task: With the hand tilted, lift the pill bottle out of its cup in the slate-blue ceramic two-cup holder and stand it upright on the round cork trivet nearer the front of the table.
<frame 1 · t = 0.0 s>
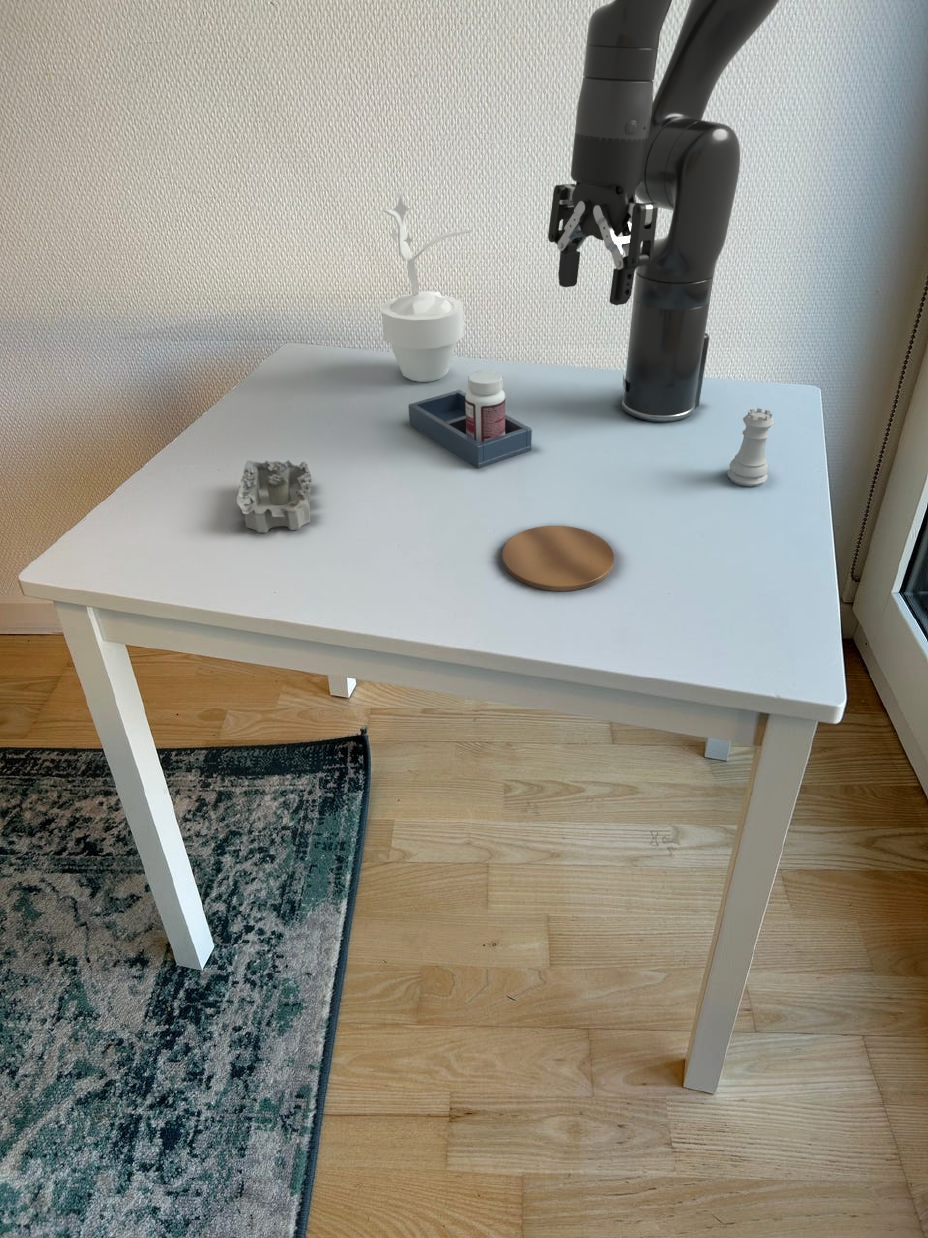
hand: (592, 294, 97), 17 cm above the table, tool pointing down, fingers open, 8 cm apart
trivet: (557, 559, 85), on the table
rook chess piece: (746, 480, 98), on the table
egg carton: (278, 509, 95), on the table
holder: (468, 437, 108), on the table
pill bottle: (485, 444, 105), resting on holder
potted plant: (428, 376, 125), on the table
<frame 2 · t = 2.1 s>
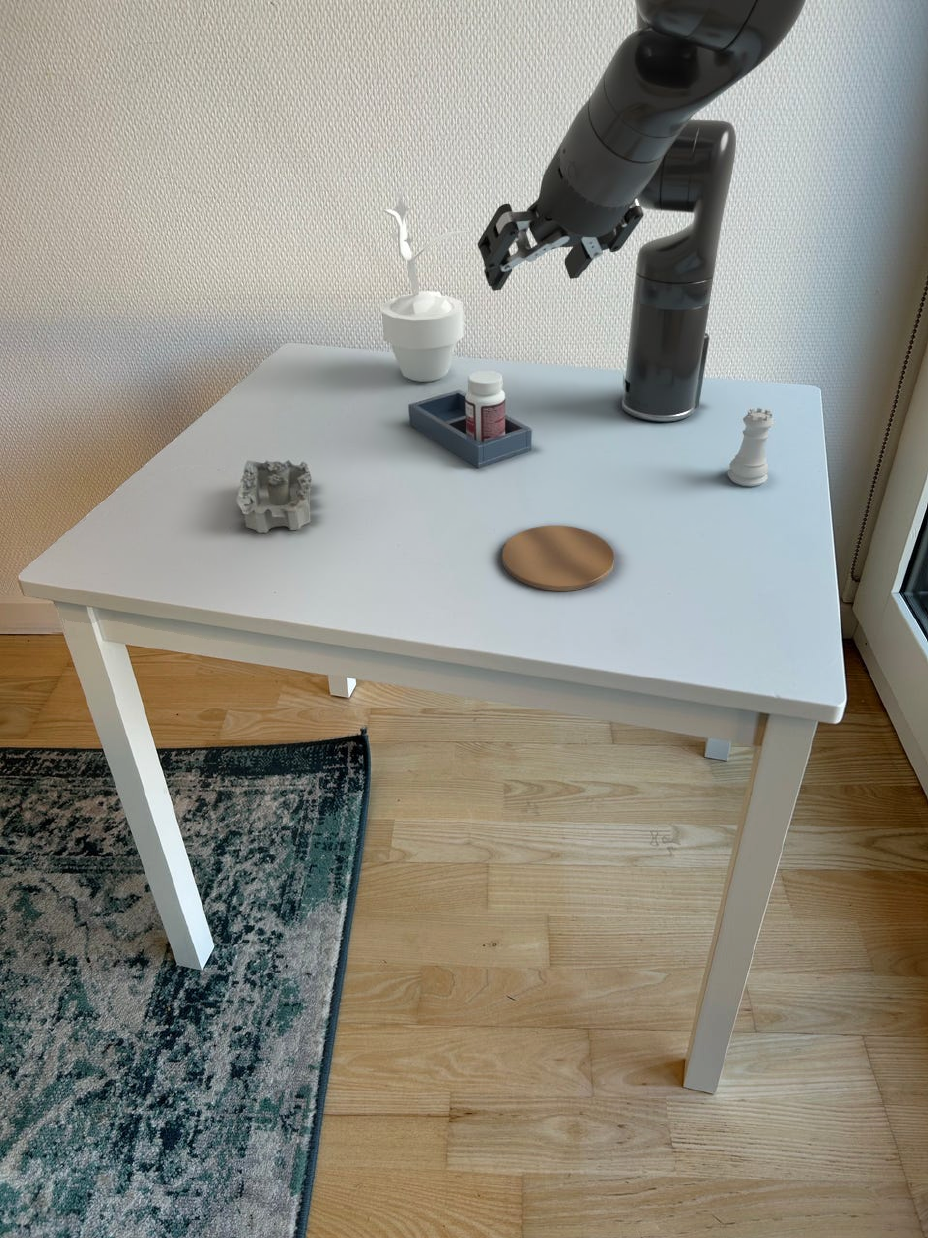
hand: (531, 275, 84), 23 cm above the table, tool tilted 45°, fingers open, 8 cm apart
nothing on the table moved.
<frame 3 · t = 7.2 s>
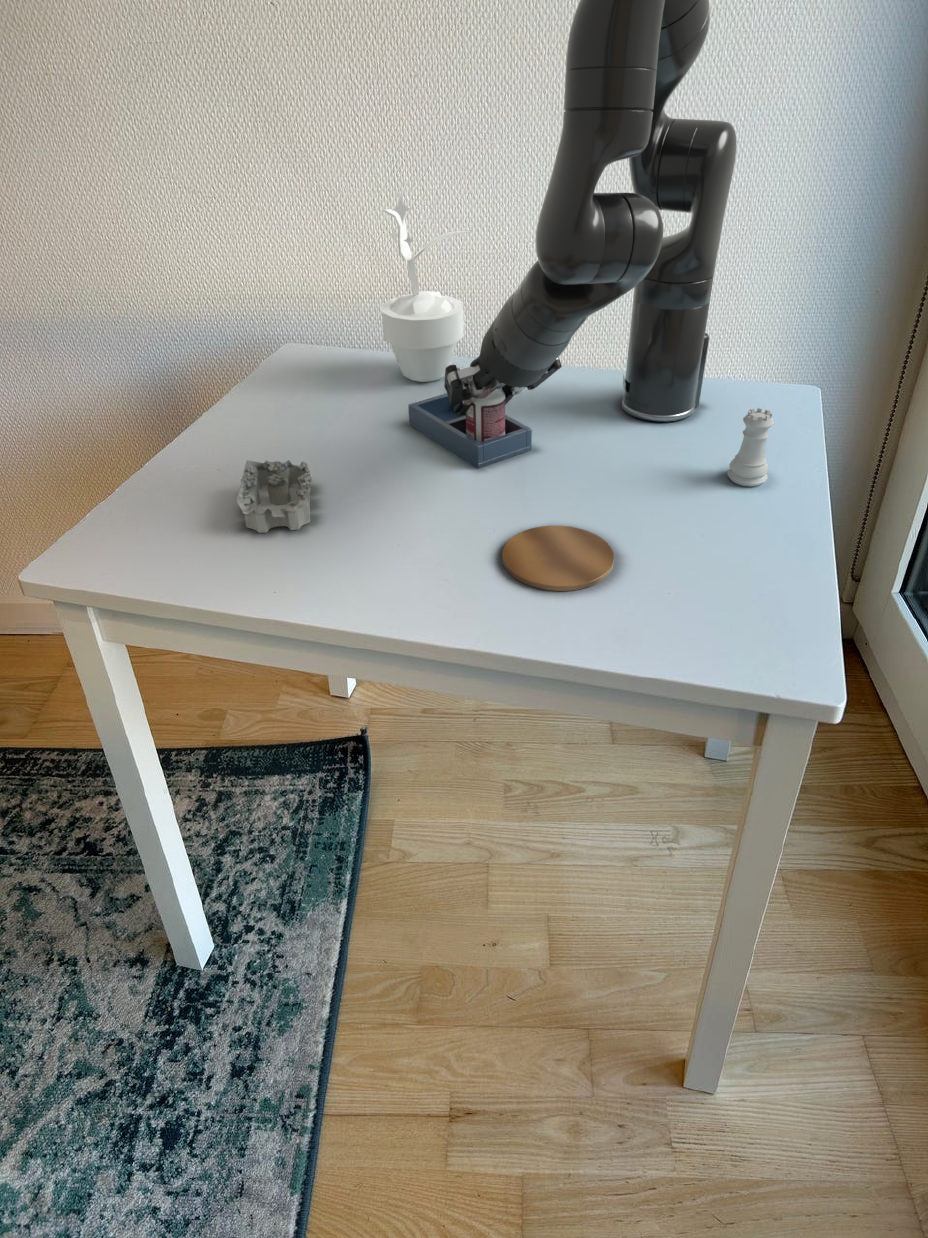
hand: (478, 403, 104), 5 cm above the table, tool tilted 45°, fingers closed on pill bottle, 4 cm apart
pill bottle: (485, 444, 105), resting on holder, touching gripper
everything else where it was.
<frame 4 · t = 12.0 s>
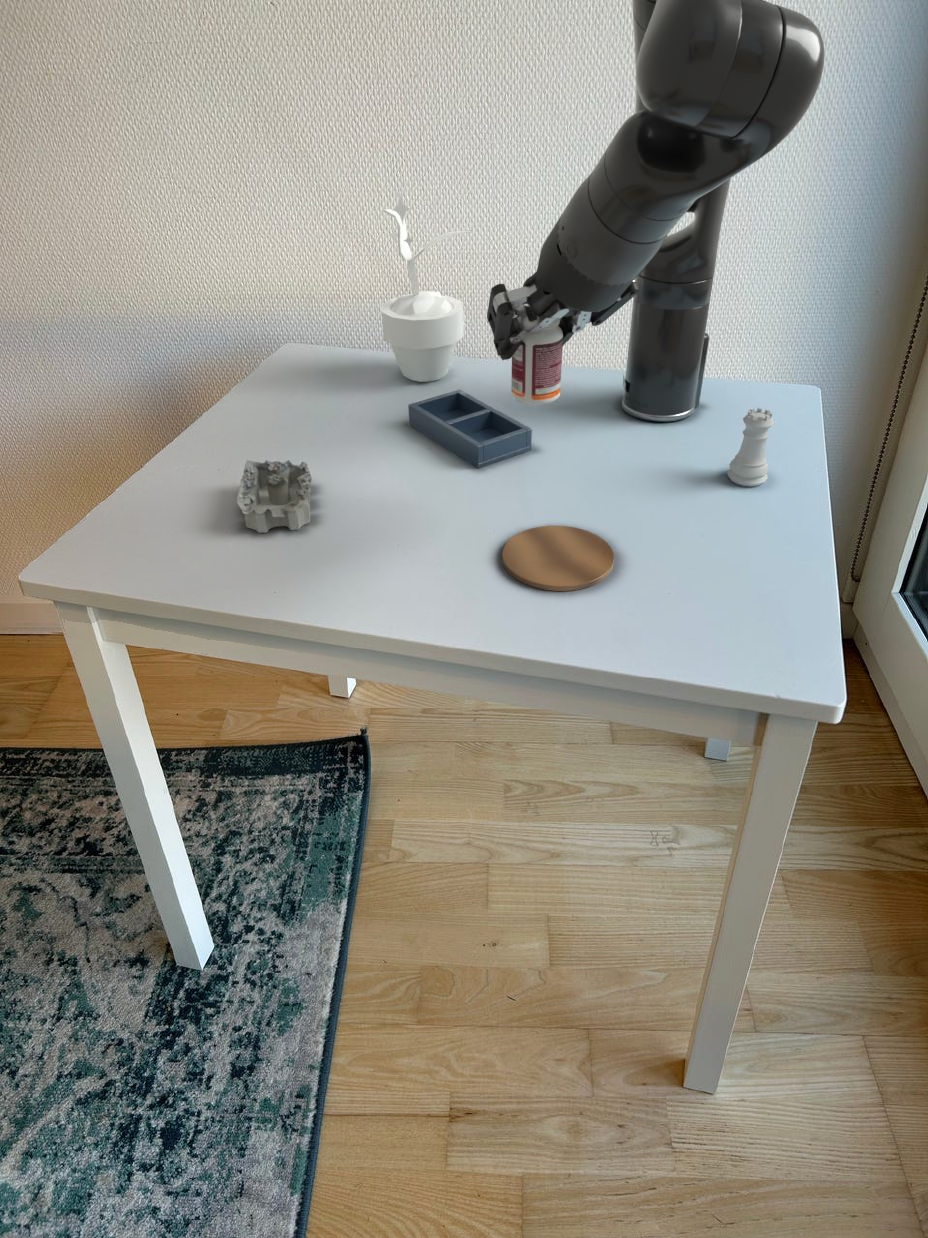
hand: (527, 345, 82), 18 cm above the table, tool tilted 45°, fingers closed on pill bottle, 4 cm apart
pill bottle: (535, 397, 83), point 14 cm above the table, touching gripper
everything else where it was.
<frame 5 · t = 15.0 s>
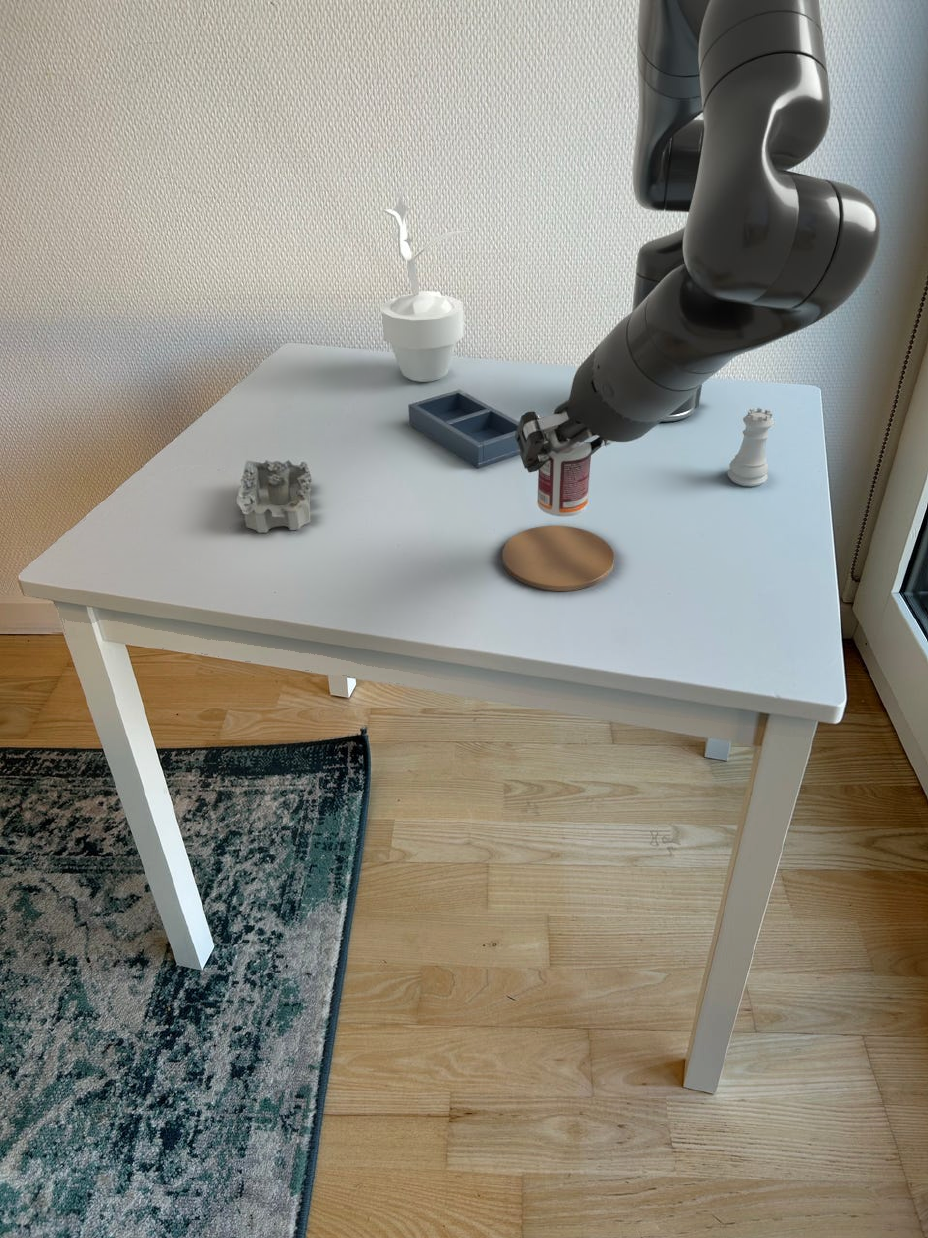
hand: (553, 455, 80), 11 cm above the table, tool tilted 45°, fingers closed on pill bottle, 4 cm apart
pill bottle: (561, 507, 82), point 6 cm above the table, touching gripper
everything else where it was.
when the fingers open (5 cm above the table, at t = 17.0 s): pill bottle stays where it is, resting on trivet.
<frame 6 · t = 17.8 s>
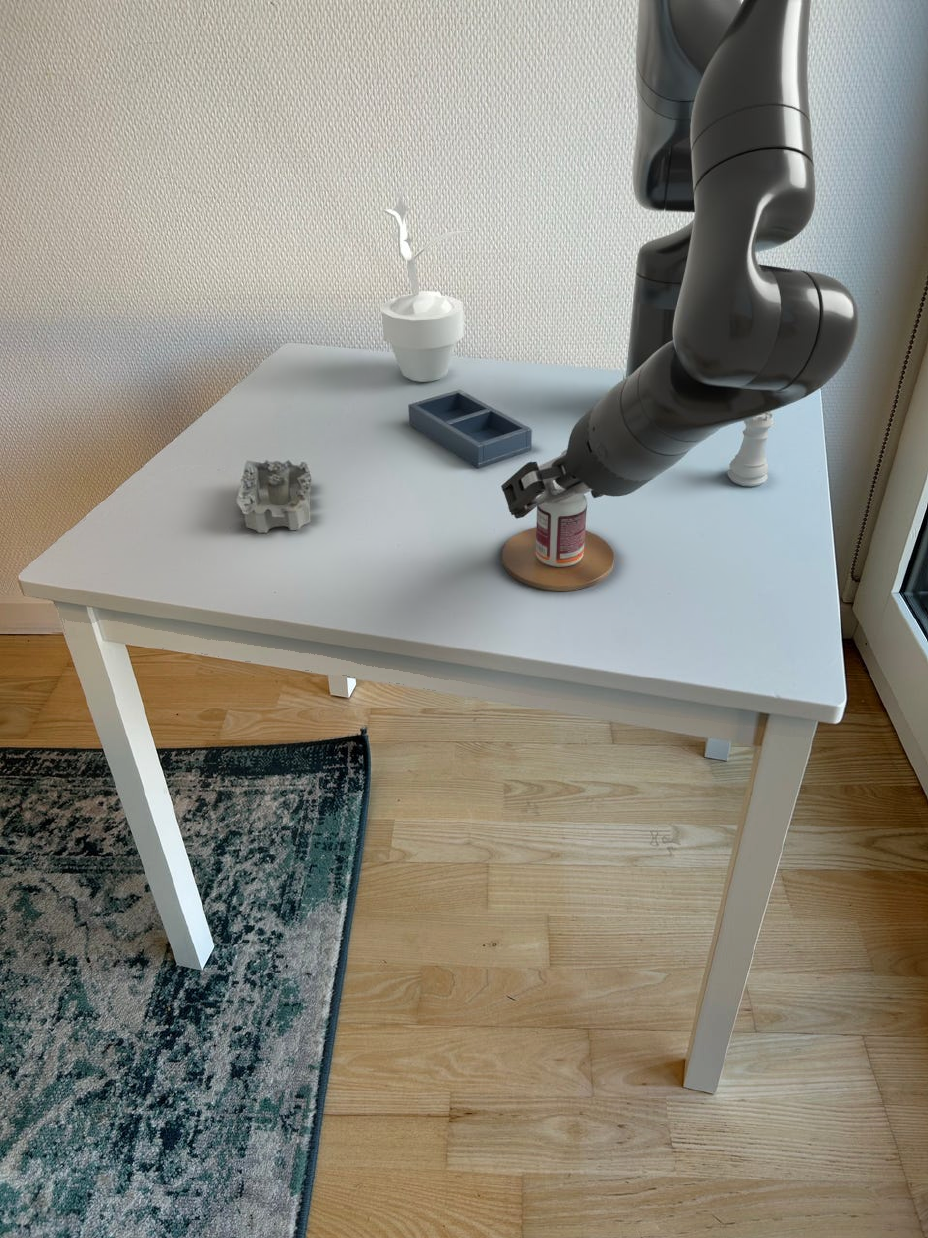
hand: (554, 498, 83), 6 cm above the table, tool tilted 45°, fingers open, 8 cm apart
pill bottle: (558, 556, 85), resting on trivet
everything else where it was.
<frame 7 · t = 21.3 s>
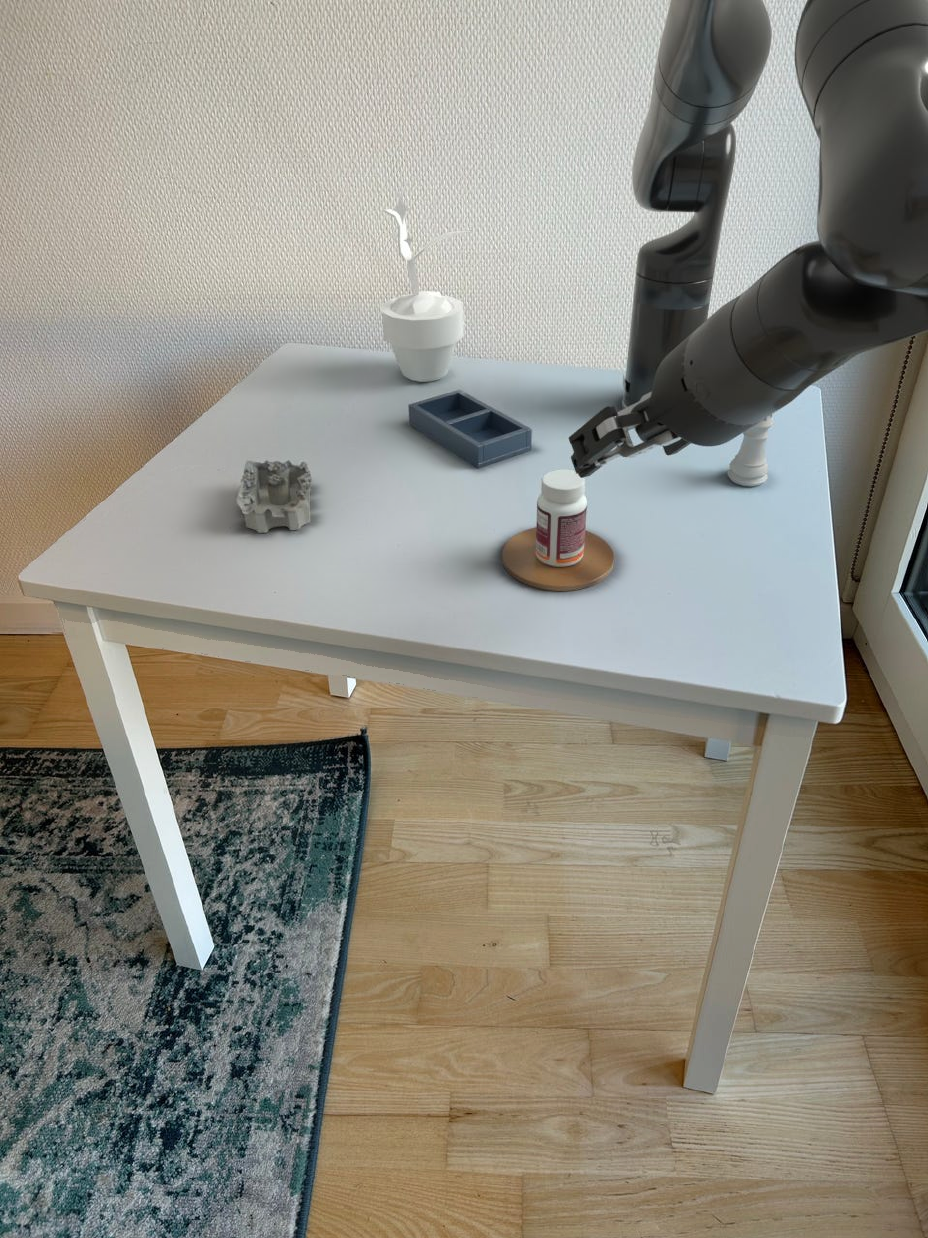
hand: (623, 454, 72), 14 cm above the table, tool tilted 45°, fingers open, 8 cm apart
nothing on the table moved.
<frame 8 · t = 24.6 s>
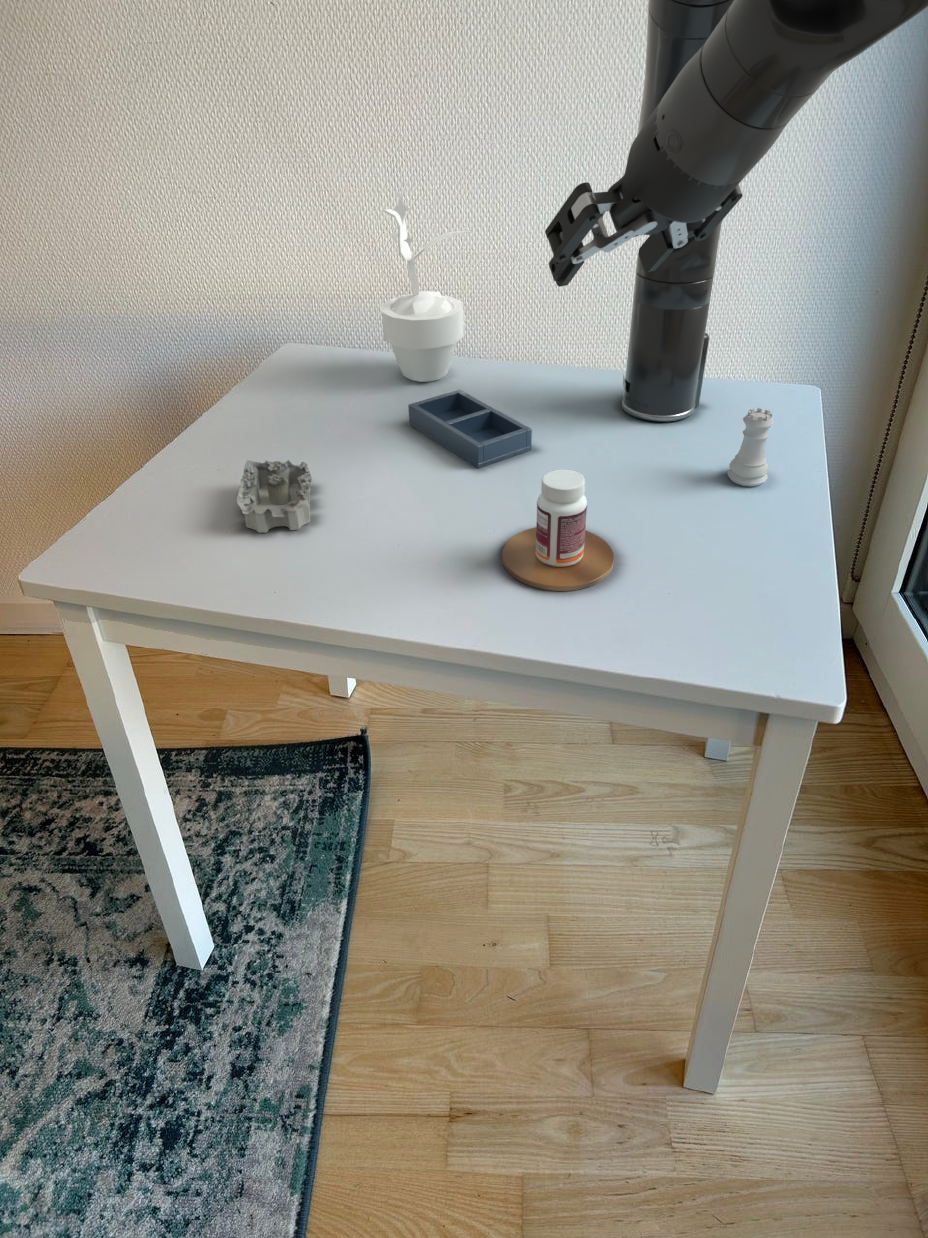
hand: (601, 268, 72), 27 cm above the table, tool tilted 45°, fingers open, 8 cm apart
nothing on the table moved.
at the end: pill bottle inside the target area on the trivet (0.2 cm from its centre), point 0.4 cm above the trivet's base; pill bottle tilted 0°; pill bottle touching trivet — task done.
